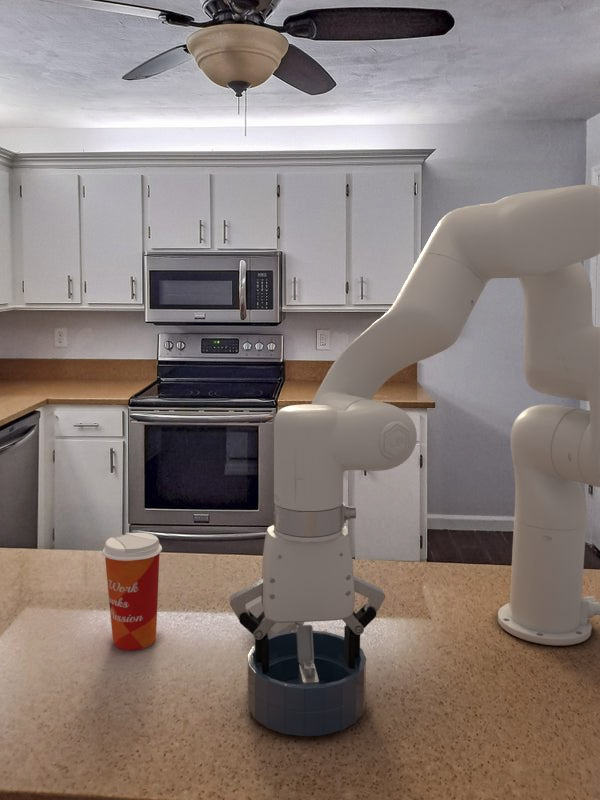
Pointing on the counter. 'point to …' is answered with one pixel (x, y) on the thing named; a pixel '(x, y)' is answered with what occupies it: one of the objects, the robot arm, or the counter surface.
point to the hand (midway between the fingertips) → (307, 665)
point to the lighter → (306, 656)
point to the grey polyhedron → (257, 607)
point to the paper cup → (133, 588)
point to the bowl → (306, 687)
